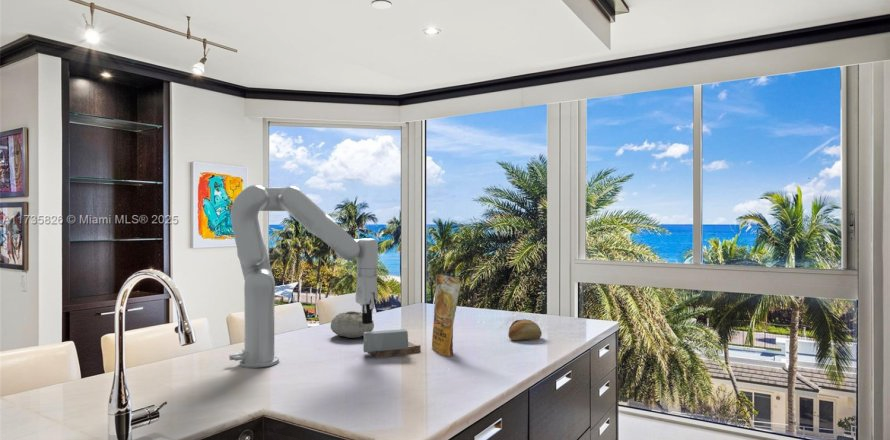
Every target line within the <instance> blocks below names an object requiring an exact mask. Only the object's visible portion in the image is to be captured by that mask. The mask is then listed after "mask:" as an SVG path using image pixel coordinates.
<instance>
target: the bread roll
mask: <svg viewBox="0 0 890 440" xmlns="http://www.w3.org/2000/svg"><path fill="white" fill-rule="evenodd" d="M507 334H508V335H507V336H508V338H509V339H510V340H512V341H520V340H521V341H523V340H538V339H540V338H541V337H542V330H541V327H540V326H539V324H538V323H536V322H535V321H533V320H531V319H523V318H522V319H517V320H515V321H513V322H512V324H511V325H510V327H509V329H508V333H507Z"/></svg>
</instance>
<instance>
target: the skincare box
mask: <svg viewBox="0 0 890 440" xmlns="http://www.w3.org/2000/svg"><path fill="white" fill-rule="evenodd" d="M408 335H409V333H408V330H407V329H406V328H402V329H401V328H400V329H399V328H398V329H386V330H375V331H373V330H372V332H364V336H363V349H362V351H363V353H369V352H374V351H386V350H398V349H408V342H409V336H408Z"/></svg>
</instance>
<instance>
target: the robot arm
mask: <svg viewBox="0 0 890 440" xmlns="http://www.w3.org/2000/svg"><path fill="white" fill-rule="evenodd" d="M260 212H287V213H288V214H289V215H290V216H292V217H293V219H295V220H296V221H297V222H298V223H299V224H300V225H301V226H302V227H303V228H305V229H306V230H307V231H308V232H309V233H311V234H312V235H314V236H315V237H317V238H319V239H320V240H322V241H323V242H324V243H325V244H326V245H327V246H328V247H330V248H331V249H332V250H333V252H334V253H335V255H336V256H337V257H338V258H341V259H343V260H344V261H352V260H355V259H356V284H355V302H356V303H357V304H359V305H360V307H361V313H362V323H363V324H371V323H372V320H373V310H374V309H375V308H376V307H375V305H377V303H378V279H377V278H378V276H379V271H378V270H379V269H378V268H379V267H378V264H379V258H378V255H379V252H378V251H379V249H378V248H379V243H378V240H377V239H376V238H360V239H359V238H358V239H355V238H353V236H352V235H350V234H349V233H348V231H346V230H345V229H344V228H343V227H341V226H340V225H339V224H338V223H337V222H336V221H335V220H334V219H332V218H331V216H330V215H328V213H326V212H325V211H324V210H323V209H322V208H321V207H320V206H318V204H316V203H315V202H314V201H313V200H312V199H311V198H310V197H309V196H307V195H306V193H304V192H303V190H301V189H299V188H298V187H296V186H293V185H289V186H286V187H263V186H262V185H259V184H252V185H249V186H247V187H246V188H244V189H243V190H242V191H240V192H239V193H238V195H237V196H236V197H235V199H234V200H233V203H232V205H231V209H230V222H231V228H232V231H233V232H232V233H233V236H234V241H235V246H236V253H237V254H236V255H237V258H238V259H239V263H240V268H241V271H242V275H243V278H244V279H243V280H244V285H243V286H244V288H243V289H244V290H243V291H244V294H243V296H244V349H242V350H241V352H239V353H232V354H229V355H228V359H229V361H235V362H236V361H239V362H238V363H239V366H240V367H243V368H248V369H249V368H250V369H252V368H253V369H256V368H258V369H260V368H267V367H271V366H274V365H277V364H278V363H279V362H280V357H278V356H276V355H275V298H276V297H275V296H276V281H275V277H274V275H273V272H272V266H271V263H270V260H269V254H268V249H267V246H266V244H265V243H264V238H263V235H262V231H261V226H260V222H259V213H260Z"/></svg>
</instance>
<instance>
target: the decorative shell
mask: <svg viewBox="0 0 890 440" xmlns="http://www.w3.org/2000/svg"><path fill="white" fill-rule="evenodd" d="M374 328H375V323H374V320H373V319H372V323H371V324H363V323H362V311H360V312H359V311H354V310H352V311H350V310H349V311H345V312H341V313H338V314H337V315H336V316H335V317H333V319H331V322H330V330H331V331H332V332H333V333H334V334H335V335H337V336H339V337H344V338H349V339H355V338H360V337H364V332H372V331H373V330H374Z"/></svg>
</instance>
